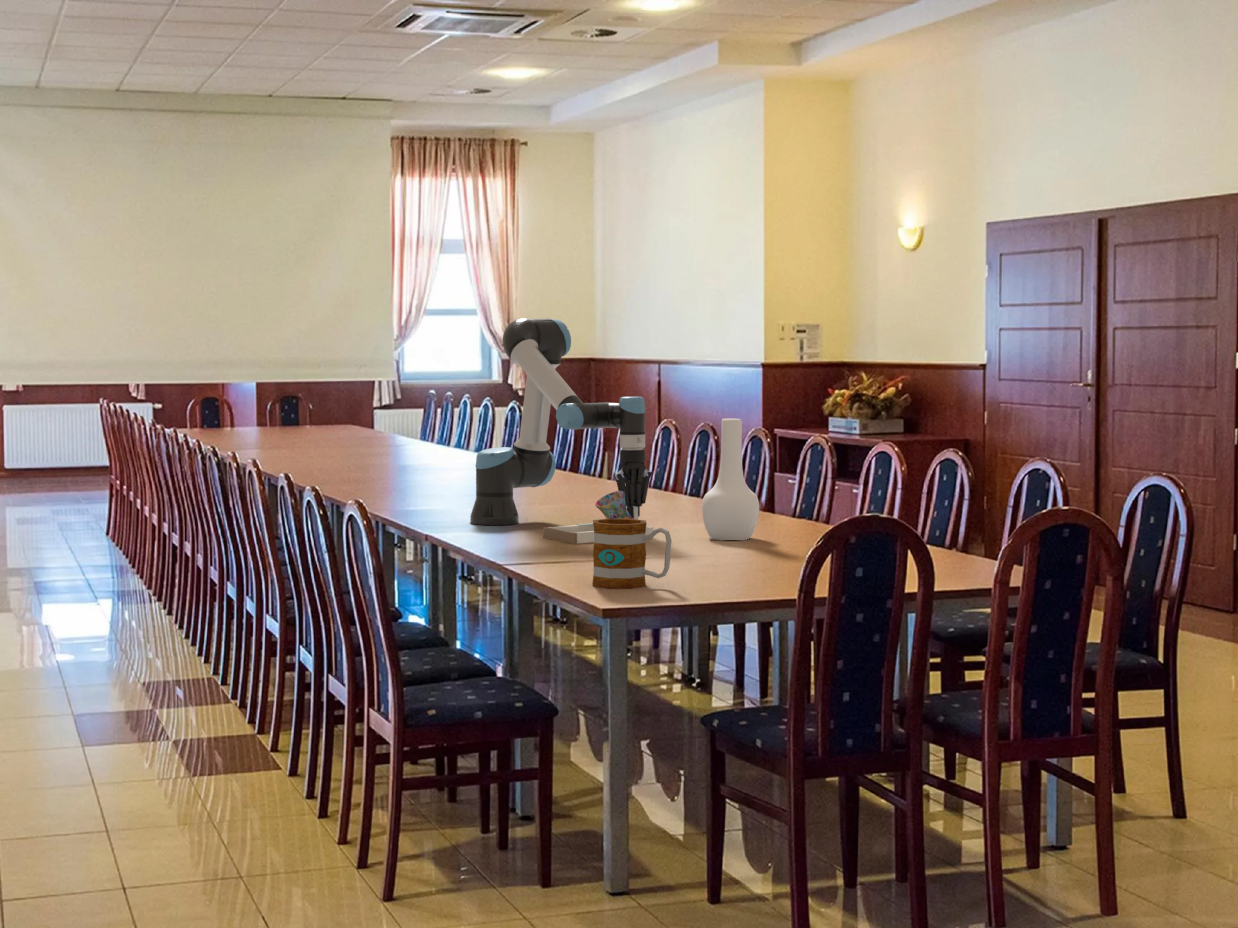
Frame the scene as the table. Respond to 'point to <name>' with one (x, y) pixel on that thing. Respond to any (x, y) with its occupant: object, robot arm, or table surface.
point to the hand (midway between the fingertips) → (633, 528)
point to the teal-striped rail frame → (575, 533)
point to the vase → (730, 491)
